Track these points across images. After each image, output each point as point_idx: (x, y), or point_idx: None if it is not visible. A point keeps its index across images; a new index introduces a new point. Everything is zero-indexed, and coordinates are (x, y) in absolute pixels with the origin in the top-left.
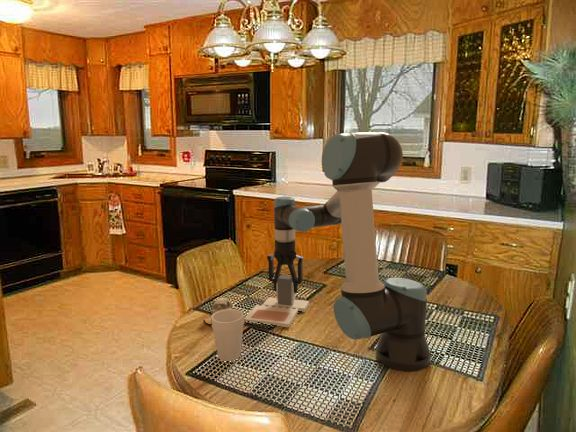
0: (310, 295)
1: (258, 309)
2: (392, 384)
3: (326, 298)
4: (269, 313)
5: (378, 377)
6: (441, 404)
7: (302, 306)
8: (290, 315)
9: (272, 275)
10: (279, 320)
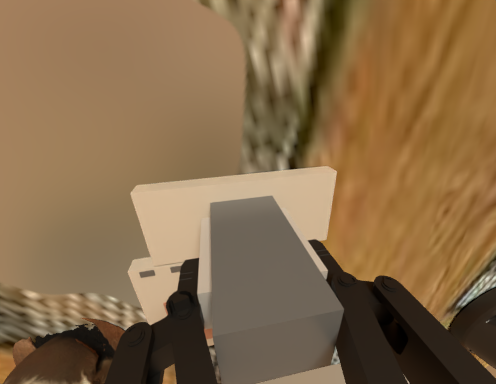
0: (321, 37)
1: (164, 300)
2: None
3: (402, 61)
4: None
5: None
6: (482, 360)
7: (316, 228)
8: None
9: (137, 372)
10: None
